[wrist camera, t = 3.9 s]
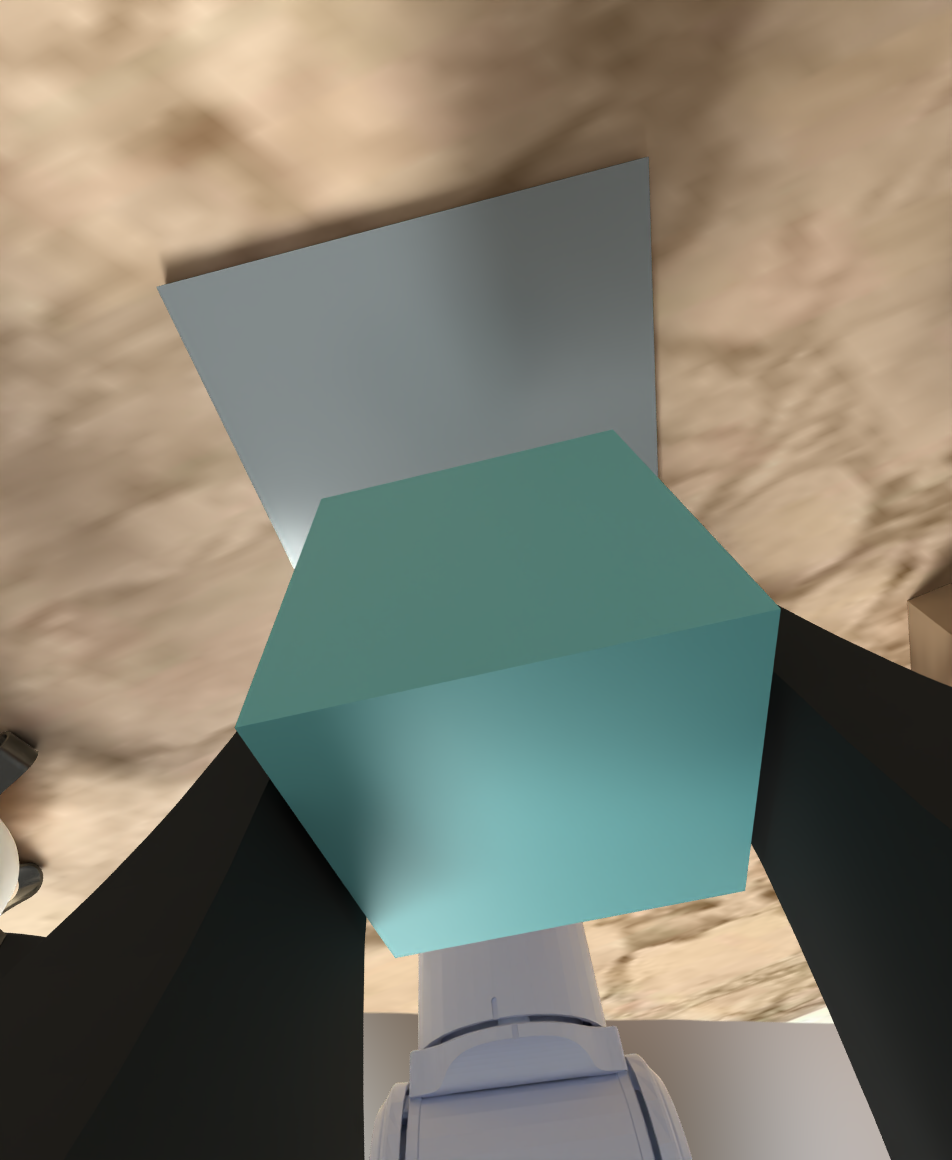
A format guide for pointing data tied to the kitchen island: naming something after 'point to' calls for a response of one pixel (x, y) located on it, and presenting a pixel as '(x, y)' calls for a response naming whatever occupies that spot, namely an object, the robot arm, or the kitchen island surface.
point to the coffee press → (15, 857)
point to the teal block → (517, 697)
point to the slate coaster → (432, 342)
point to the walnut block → (931, 634)
